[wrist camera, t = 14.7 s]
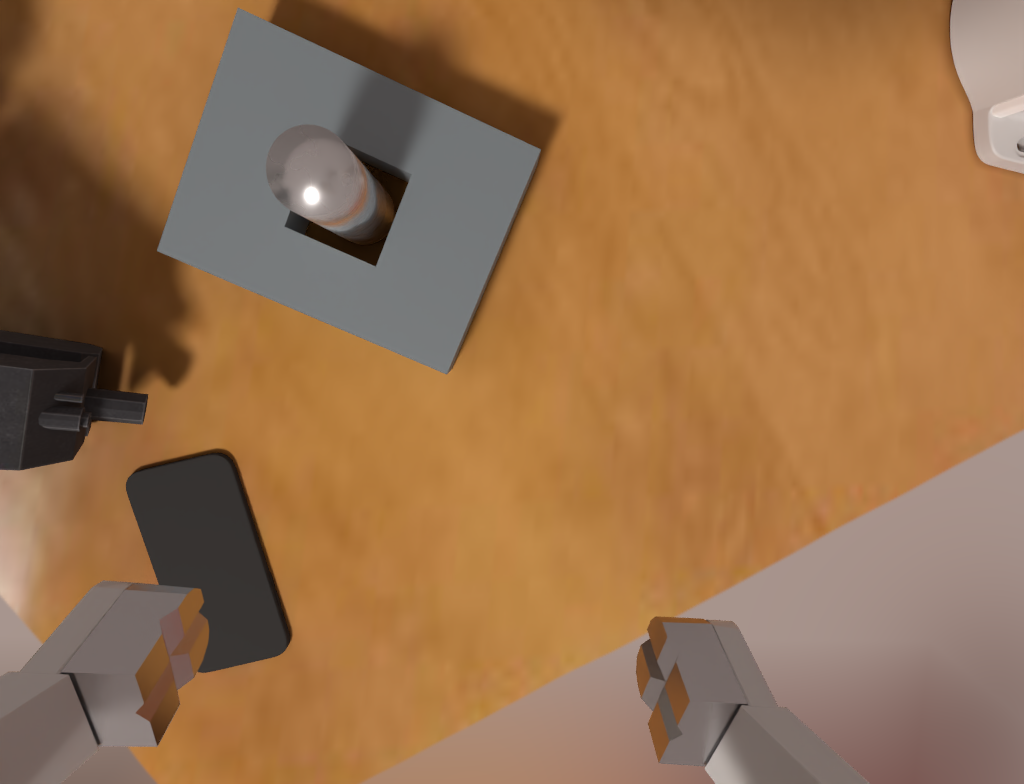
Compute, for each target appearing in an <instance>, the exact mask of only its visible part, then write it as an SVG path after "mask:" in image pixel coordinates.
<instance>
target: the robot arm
mask: <svg viewBox="0 0 1024 784" xmlns="http://www.w3.org/2000/svg"><path fill="white" fill-rule="evenodd" d="M950 40H951V49H952V55H953V60H954V64H955V67H956V71H957V74H958V76H959V79H960V81H961V83H962V85H963V88H964V90H965V92H966V94H967V96H968V98H969V101H970V104H971V107H972V110H973V129H974V143H975V149H976V152H977V155H978V157H979V158H980V160H982V161H983V162H984V163H986V164H988V165H991V166H995V167H999V168H1003V169H1007V170H1011V171H1015V172H1019V173H1023V174H1024V0H953V3H952V9H951V18H950ZM1017 143H1018V145H1019V150H1018V148H1017ZM203 603H204V599H203V596H202V592H201V589H197V588H187V587H176V586H165V585H154V584H143V583H130V582H117V581H102V582H100V583H98V584H97V585H95V586H94V587H92V588H91V589H90V590H89V591H88V592H87V594H86V595H85V596H84V597H83V598H82V599H81V601H80V602H79V603H78V604H77V605H76V606H75V608H74V609H73V610H72V611H71V612H70V613H69V615H68V616H67V617H66V618H65V619H64V620H63V622H62V623H61V624H60V625H59V626H58V627H57V629H56V630H55V631H54V632H53V633H52V634H51V636H50V637H49V638H48V639H47V640H46V641H45V643H44V644H43V645H42V646H41V647H40V648H39V650H38V651H37V652H36V653H35V654H34V655H33V657H32V658H31V659H30V660H29V661H28V662H27V664H26V665H25V666H24V667H23V668H22V670H21V671H20V672H7V673H6V674H4V675H3V676H0V784H61V783H62V782H63V781H64V780H65V779H66V778H67V777H69V776H70V775H71V774H72V773H73V772H74V771H75V770H76V769H78V768H79V767H80V766H81V765H82V764H83V763H84V762H86V761H87V760H88V759H89V758H90V757H92V756H93V755H94V754H95V753H96V752H97V751H98V750H99V747H98V746H138V747H157V746H158V745H159V743H160V741H161V739H162V737H163V735H164V733H165V731H166V730H167V728H168V726H169V724H170V722H171V720H172V718H173V717H174V715H175V713H176V711H177V709H178V707H179V705H180V701H179V696H178V691H177V690H178V689H180V688H181V687H182V686H184V685H185V684H186V683H188V682H189V681H190V680H192V679H193V678H194V677H195V675H196V673H197V671H198V669H199V667H200V665H201V663H202V661H203V658H204V655H205V652H206V648H207V645H208V640H209V625H208V620H207V619H206V618H205V617H204V616H203V615H202V614H200V613H199V610H200V608H201V607H202V605H203ZM647 630H648V633H649V636H650V639H649V640H647V641H646V642H645V643H643V644H642V645H641V646H640V650H639V652H638V656H637V666H636V674H637V682H638V687H639V691H640V695H641V699H642V700H643V701H644V702H645V703H646V704H647V705H648V706H649V707H650V709H651V710H652V711H653V712H652V715H651V717H650V720H649V723H648V725H649V729H650V732H651V736H652V740H653V744H654V747H655V751H656V754H657V758H658V762H659V763H663V764H678V765H694V766H706V767H705V770H706V772H707V773H708V774H709V775H710V777H711V778H712V779H713V781H714V782H715V783H716V784H870V783H869V782H868V781H867V780H866V779H865V778H864V777H863V776H861V775H860V774H859V773H858V772H857V771H856V770H855V769H854V768H853V767H852V766H850V765H849V764H848V763H847V762H846V761H845V760H844V759H843V758H842V757H840V756H839V755H838V754H837V753H836V752H835V751H834V750H833V749H832V748H831V747H829V746H828V745H827V744H826V743H825V742H824V741H823V740H822V739H821V738H819V737H818V736H817V735H816V734H815V733H814V732H813V731H812V730H811V729H809V728H808V727H807V726H806V725H805V724H804V723H803V722H802V721H801V720H800V719H798V718H797V717H796V716H795V715H794V714H793V713H792V712H790V710H788V709H787V708H786V707H778V705H777V703H776V701H775V699H774V697H773V695H772V693H771V691H770V689H769V687H768V685H767V683H766V681H765V679H764V677H763V675H762V673H761V671H760V669H759V667H758V665H757V663H756V661H755V659H754V657H753V655H752V653H751V651H750V650H749V647H748V646H747V643H746V642H745V640H744V638H743V636H742V634H741V632H740V630H739V628H738V626H737V625H736V624H735V623H734V622H732V621H720V620H704V619H696V618H695V619H694V618H676V617H654V618H653V619H652V620H651V621H650V624H649V626H648V629H647Z"/></svg>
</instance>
